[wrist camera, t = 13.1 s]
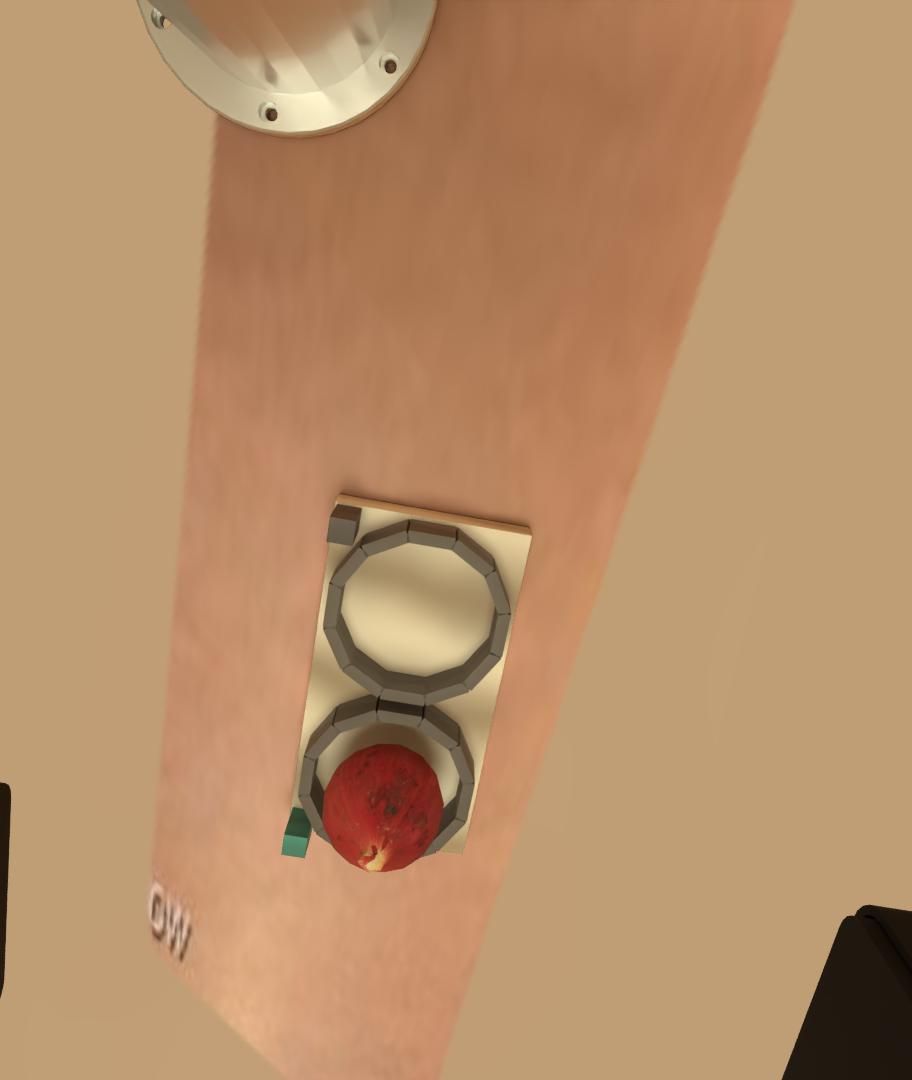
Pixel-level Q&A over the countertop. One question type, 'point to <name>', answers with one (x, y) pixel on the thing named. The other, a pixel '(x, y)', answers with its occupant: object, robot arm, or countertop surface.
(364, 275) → the countertop surface
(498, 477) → the countertop surface
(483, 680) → the cream flat ringed piece
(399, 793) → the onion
